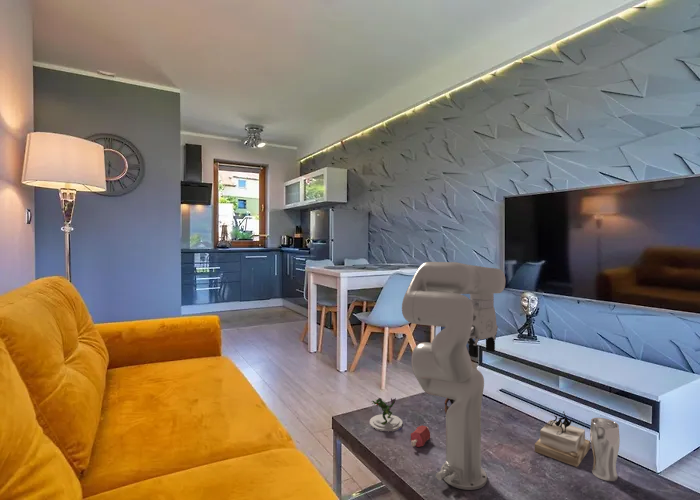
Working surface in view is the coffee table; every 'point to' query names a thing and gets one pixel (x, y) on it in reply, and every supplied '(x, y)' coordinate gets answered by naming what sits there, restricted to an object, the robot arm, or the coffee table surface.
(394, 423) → the monster figurine
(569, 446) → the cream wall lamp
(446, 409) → the pottery mug
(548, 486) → the coffee table surface
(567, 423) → the creature
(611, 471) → the beer glass
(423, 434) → the meat
